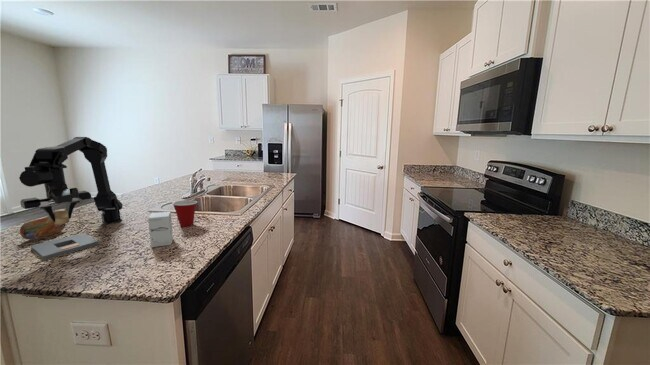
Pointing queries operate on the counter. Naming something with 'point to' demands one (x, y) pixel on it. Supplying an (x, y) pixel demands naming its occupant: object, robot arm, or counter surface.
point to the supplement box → (160, 229)
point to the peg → (61, 216)
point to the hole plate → (52, 250)
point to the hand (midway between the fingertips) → (61, 220)
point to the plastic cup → (185, 212)
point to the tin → (40, 228)
